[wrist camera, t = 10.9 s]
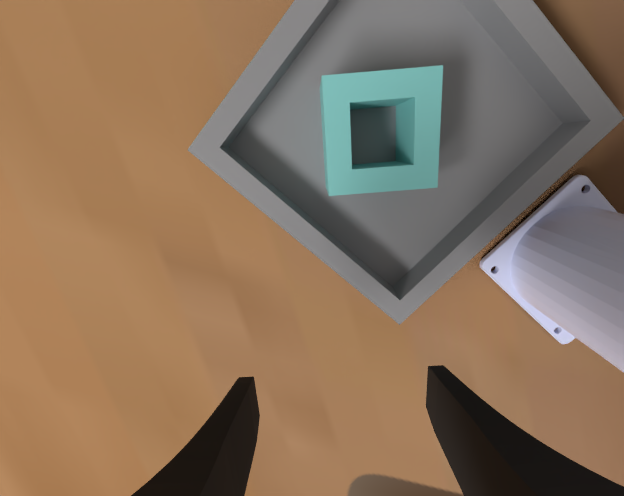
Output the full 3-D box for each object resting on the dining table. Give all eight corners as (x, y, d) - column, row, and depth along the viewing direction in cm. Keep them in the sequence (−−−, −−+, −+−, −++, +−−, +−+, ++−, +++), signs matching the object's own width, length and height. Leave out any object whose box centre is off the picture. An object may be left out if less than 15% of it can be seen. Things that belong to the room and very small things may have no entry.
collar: (417, 80, 17) (443, 65, 14) (415, 180, 19) (437, 187, 16) (319, 88, 18) (321, 75, 14) (325, 187, 19) (329, 196, 16)
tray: (584, 121, 19) (624, 118, 16) (390, 305, 22) (399, 324, 20) (393, -112, 15) (409, -159, 13) (202, 149, 19) (187, 149, 17)
